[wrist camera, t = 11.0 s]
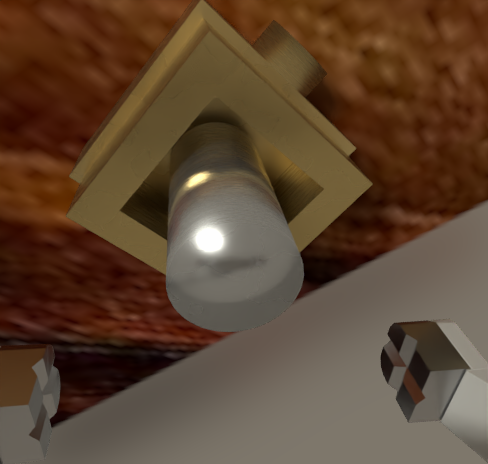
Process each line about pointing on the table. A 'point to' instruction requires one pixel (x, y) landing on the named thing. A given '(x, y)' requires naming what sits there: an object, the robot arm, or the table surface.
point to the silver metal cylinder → (227, 234)
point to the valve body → (214, 110)
